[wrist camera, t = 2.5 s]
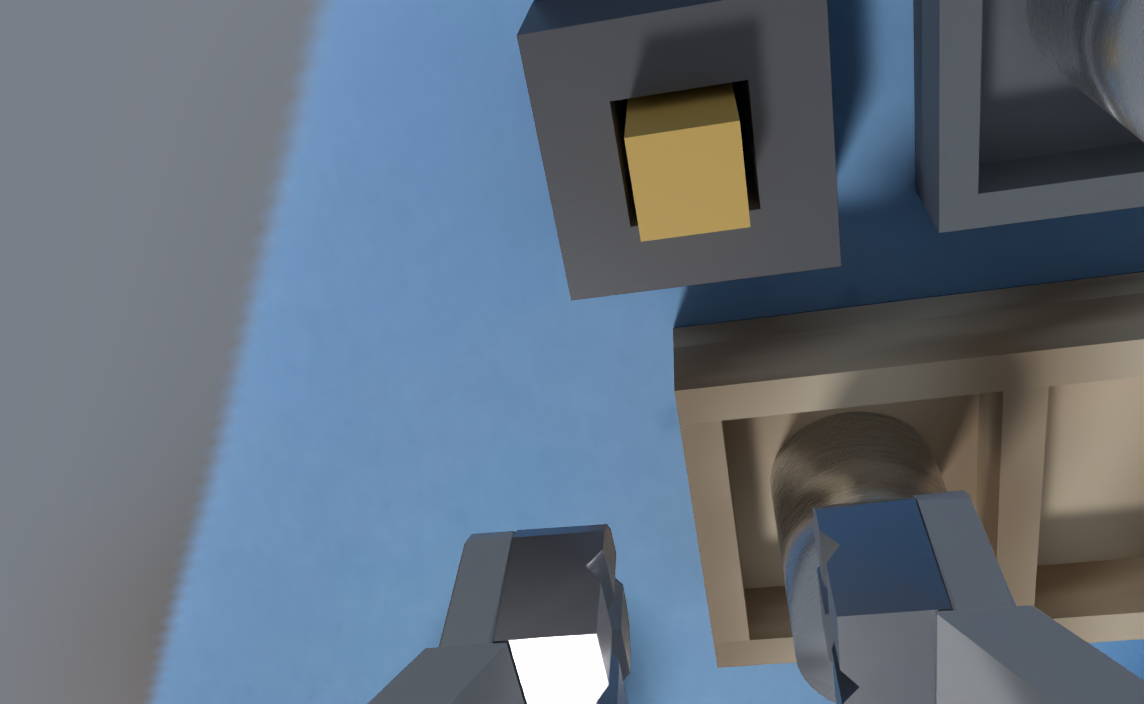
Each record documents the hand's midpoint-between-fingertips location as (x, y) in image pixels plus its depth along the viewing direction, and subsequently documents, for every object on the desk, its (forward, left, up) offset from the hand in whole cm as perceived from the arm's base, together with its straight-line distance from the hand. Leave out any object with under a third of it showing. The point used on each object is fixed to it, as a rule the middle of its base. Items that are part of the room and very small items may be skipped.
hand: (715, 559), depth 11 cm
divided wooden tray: (-7, +10, -15) cm, 20 cm away
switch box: (0, 0, -15) cm, 15 cm away
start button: (0, 0, -14) cm, 14 cm away
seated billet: (-3, +10, -14) cm, 18 cm away
